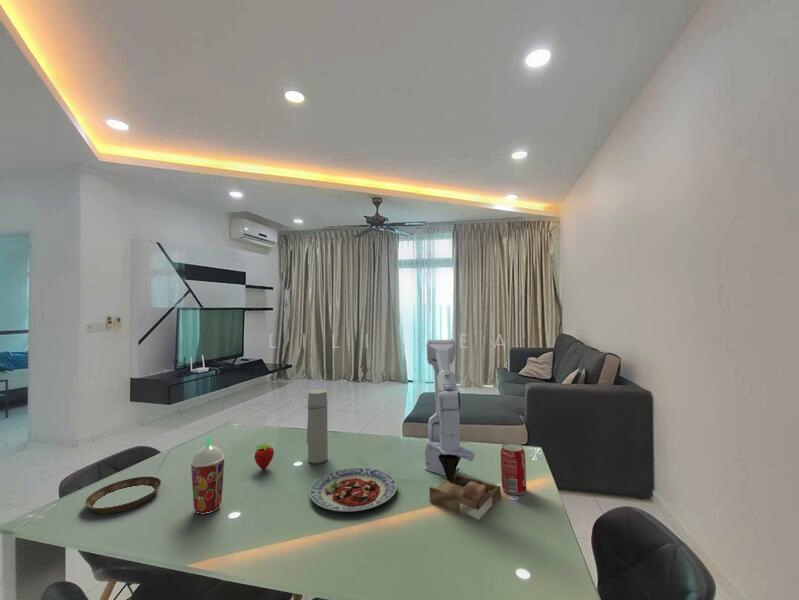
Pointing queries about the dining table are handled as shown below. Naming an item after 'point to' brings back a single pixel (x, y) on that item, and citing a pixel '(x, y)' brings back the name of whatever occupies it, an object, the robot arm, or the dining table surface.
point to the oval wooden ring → (120, 485)
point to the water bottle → (317, 426)
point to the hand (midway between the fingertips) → (450, 479)
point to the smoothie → (207, 478)
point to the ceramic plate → (353, 489)
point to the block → (474, 491)
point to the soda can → (513, 468)
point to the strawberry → (264, 456)
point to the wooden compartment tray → (453, 499)
